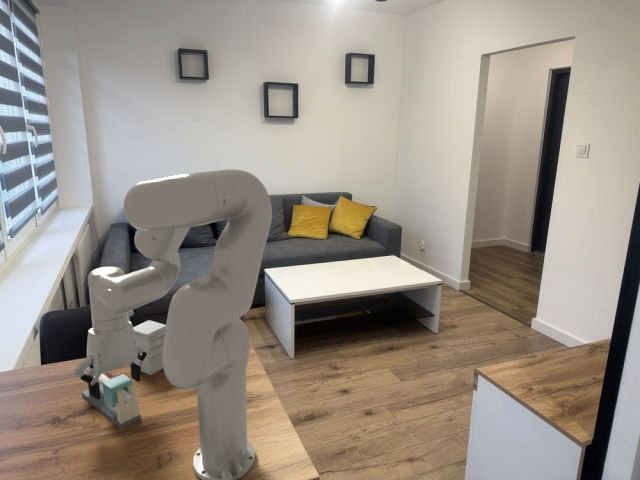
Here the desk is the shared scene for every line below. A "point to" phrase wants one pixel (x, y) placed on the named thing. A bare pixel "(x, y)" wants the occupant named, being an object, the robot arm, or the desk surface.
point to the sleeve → (115, 388)
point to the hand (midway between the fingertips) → (116, 387)
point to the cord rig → (124, 408)
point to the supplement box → (151, 344)
